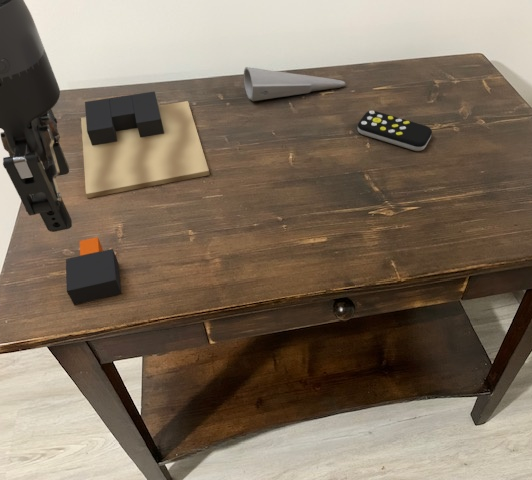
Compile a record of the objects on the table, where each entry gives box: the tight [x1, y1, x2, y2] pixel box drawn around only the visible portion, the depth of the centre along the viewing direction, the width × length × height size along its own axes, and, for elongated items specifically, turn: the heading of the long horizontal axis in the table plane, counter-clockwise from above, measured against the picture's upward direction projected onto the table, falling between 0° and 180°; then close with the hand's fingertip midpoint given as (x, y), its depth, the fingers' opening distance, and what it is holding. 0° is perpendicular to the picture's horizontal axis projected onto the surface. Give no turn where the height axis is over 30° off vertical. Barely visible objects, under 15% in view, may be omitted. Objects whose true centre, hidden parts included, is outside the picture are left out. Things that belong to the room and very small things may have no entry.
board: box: [80, 100, 210, 199], centre depth 91 cm, size 19×21×1 cm
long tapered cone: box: [243, 66, 346, 102], centre depth 103 cm, size 6×6×19 cm
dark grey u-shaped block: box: [84, 91, 164, 146], centre depth 93 cm, size 12×9×3 cm
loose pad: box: [65, 236, 122, 306], centre depth 71 cm, size 6×8×3 cm
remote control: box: [357, 110, 433, 152], centre depth 95 cm, size 6×13×2 cm, turn 64°
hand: (60, 199), depth 55 cm, fingers open, 8 cm apart
